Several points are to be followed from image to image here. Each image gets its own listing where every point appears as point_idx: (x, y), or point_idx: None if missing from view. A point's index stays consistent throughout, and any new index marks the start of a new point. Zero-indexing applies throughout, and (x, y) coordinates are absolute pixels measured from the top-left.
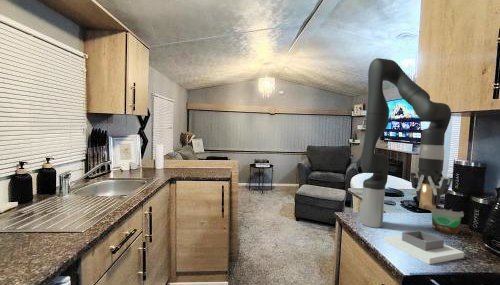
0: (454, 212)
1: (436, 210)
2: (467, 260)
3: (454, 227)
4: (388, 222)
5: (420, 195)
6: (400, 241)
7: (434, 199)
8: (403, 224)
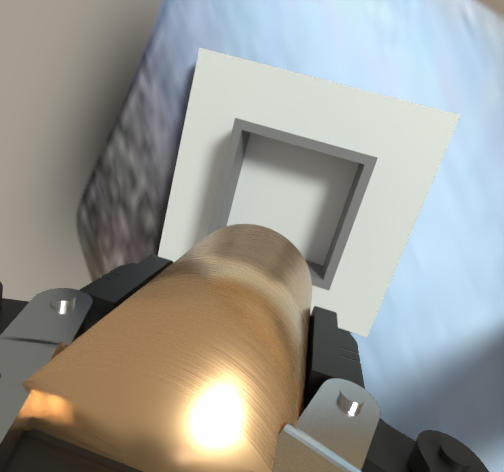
0: None
1: None
2: (150, 244)
3: None
4: None
5: (286, 300)
6: (368, 129)
7: (122, 274)
8: None
